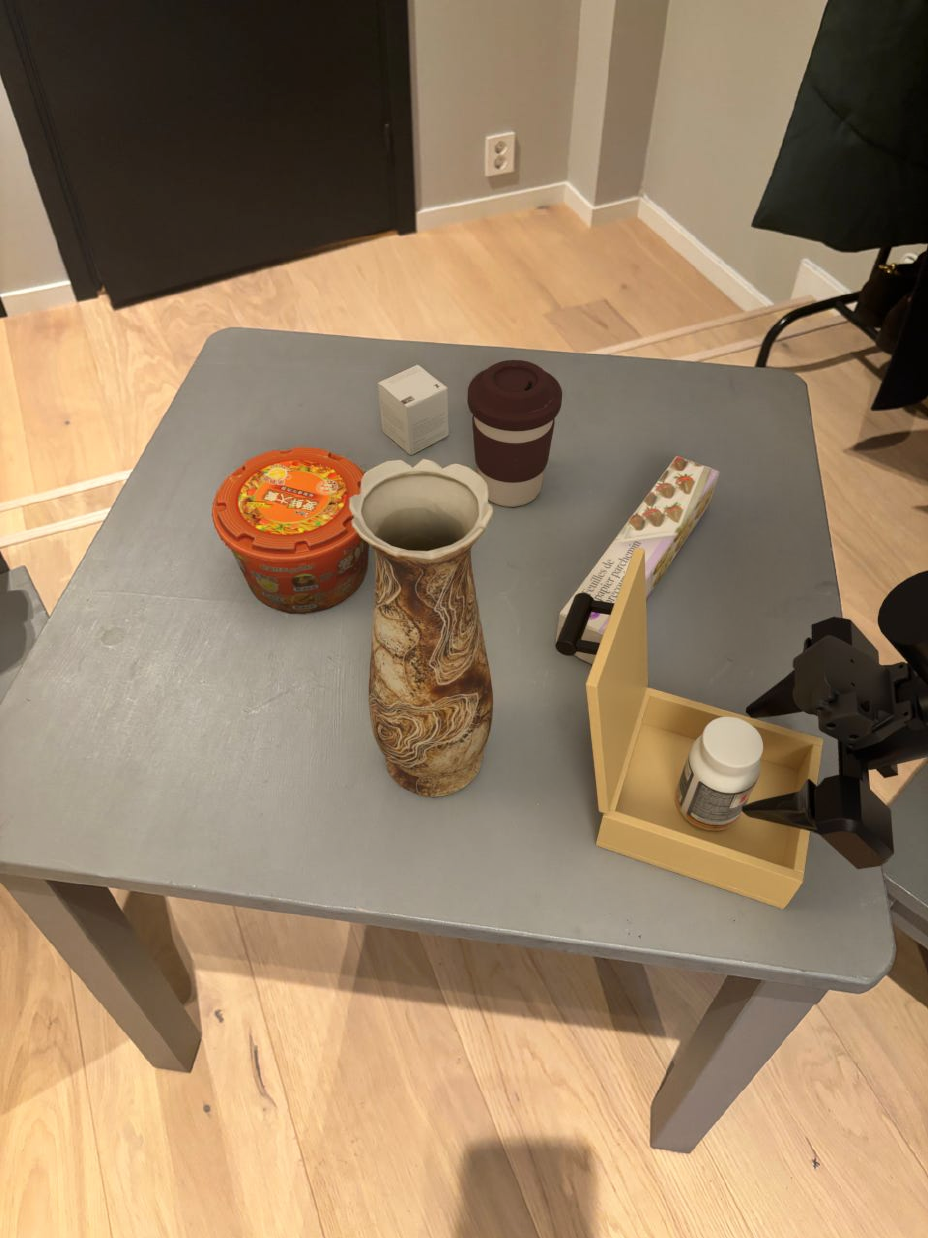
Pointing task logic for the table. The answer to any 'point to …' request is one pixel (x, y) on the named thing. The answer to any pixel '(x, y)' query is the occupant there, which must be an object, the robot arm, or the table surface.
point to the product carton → (414, 409)
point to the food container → (294, 528)
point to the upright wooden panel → (612, 671)
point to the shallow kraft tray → (661, 836)
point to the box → (648, 539)
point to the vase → (426, 622)
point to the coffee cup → (513, 428)
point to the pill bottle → (719, 773)
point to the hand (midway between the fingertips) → (746, 760)
